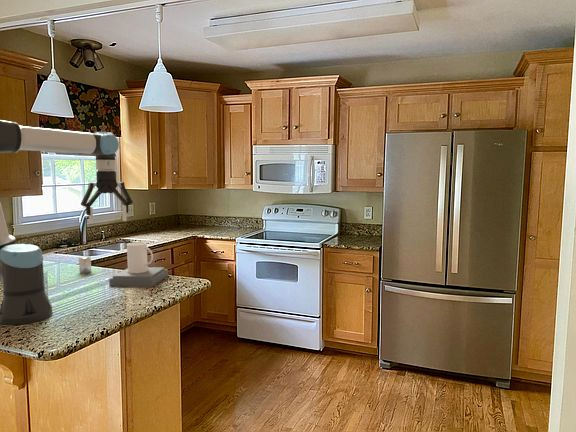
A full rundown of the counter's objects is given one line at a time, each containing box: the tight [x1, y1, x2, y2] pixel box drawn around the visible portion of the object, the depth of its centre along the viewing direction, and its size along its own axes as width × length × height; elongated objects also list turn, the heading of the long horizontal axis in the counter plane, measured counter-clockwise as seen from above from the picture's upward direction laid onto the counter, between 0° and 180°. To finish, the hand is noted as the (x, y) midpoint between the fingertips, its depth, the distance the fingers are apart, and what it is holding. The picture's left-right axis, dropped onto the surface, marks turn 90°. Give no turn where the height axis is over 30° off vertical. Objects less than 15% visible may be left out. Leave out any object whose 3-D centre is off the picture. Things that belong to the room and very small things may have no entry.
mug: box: [126, 241, 154, 273], centre depth 190 cm, size 12×8×12 cm
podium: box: [109, 266, 169, 288], centre depth 190 cm, size 18×18×4 cm
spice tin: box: [78, 256, 92, 275], centre depth 206 cm, size 5×5×7 cm
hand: (108, 222), depth 185 cm, fingers open, 13 cm apart
